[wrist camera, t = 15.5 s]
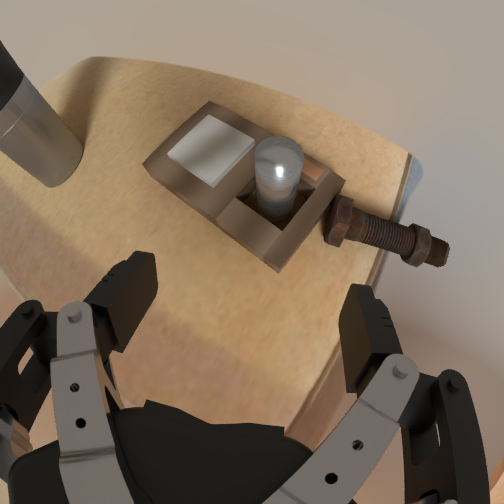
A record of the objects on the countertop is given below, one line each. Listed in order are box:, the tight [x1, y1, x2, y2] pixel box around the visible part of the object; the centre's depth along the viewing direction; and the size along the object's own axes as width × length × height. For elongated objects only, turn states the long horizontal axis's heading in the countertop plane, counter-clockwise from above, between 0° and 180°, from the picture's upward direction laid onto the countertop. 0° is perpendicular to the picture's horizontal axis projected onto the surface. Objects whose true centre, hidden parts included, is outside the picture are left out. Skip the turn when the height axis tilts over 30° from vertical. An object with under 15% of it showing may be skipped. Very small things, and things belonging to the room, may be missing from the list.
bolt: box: [324, 194, 450, 267], centre depth 27 cm, size 6×5×15 cm
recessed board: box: [142, 101, 346, 273], centre depth 30 cm, size 20×12×4 cm, turn 52°
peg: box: [254, 136, 304, 222], centre depth 26 cm, size 4×4×10 cm
